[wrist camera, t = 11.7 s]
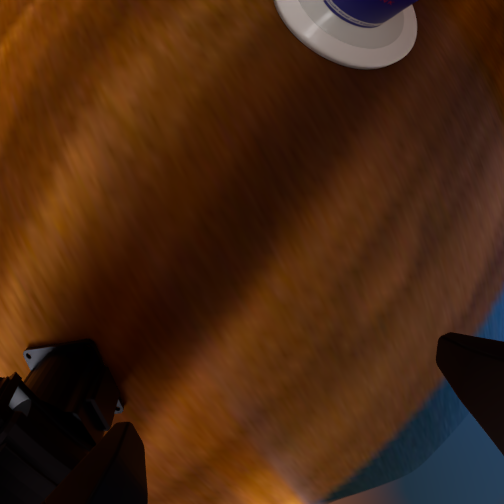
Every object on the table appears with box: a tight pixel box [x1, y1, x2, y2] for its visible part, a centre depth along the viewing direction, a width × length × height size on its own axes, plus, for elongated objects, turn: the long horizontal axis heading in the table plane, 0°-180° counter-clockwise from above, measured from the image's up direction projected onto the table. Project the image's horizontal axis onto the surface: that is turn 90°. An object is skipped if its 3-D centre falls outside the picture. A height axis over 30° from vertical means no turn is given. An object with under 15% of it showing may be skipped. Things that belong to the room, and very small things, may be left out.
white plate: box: [274, 0, 417, 70], centre depth 17 cm, size 11×11×1 cm
